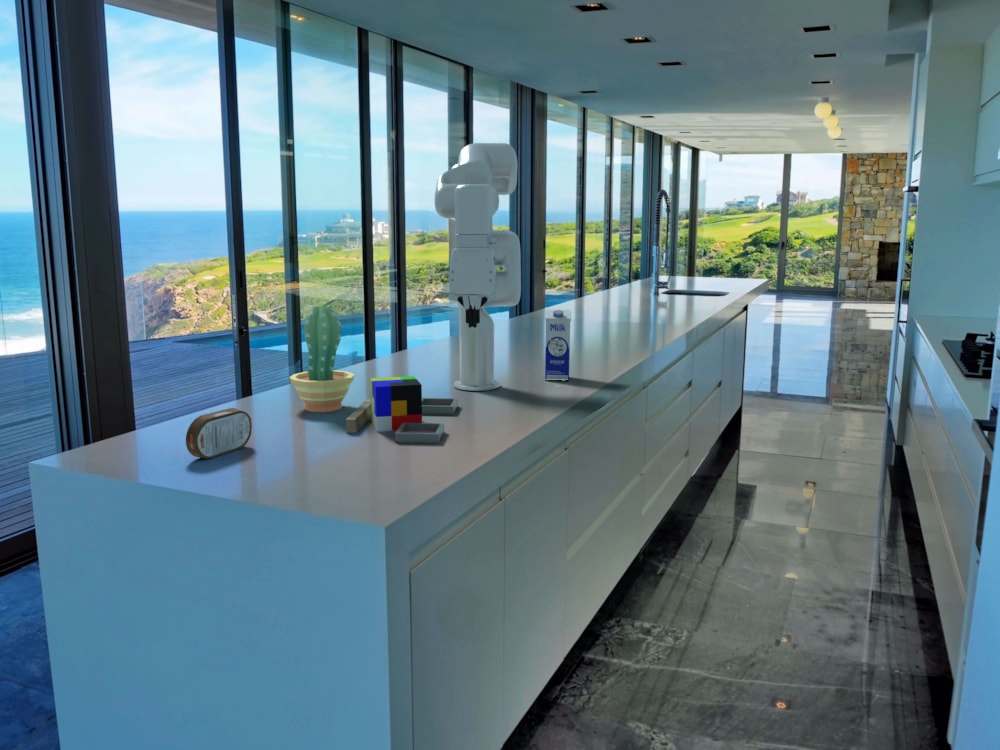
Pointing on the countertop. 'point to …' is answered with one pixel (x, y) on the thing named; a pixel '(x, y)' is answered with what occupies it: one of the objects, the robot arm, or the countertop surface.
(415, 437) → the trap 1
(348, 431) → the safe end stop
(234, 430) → the tin
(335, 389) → the potted cactus
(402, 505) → the countertop surface
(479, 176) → the robot arm
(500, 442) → the countertop surface
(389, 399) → the puzzle toy
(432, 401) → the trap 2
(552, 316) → the milk carton
